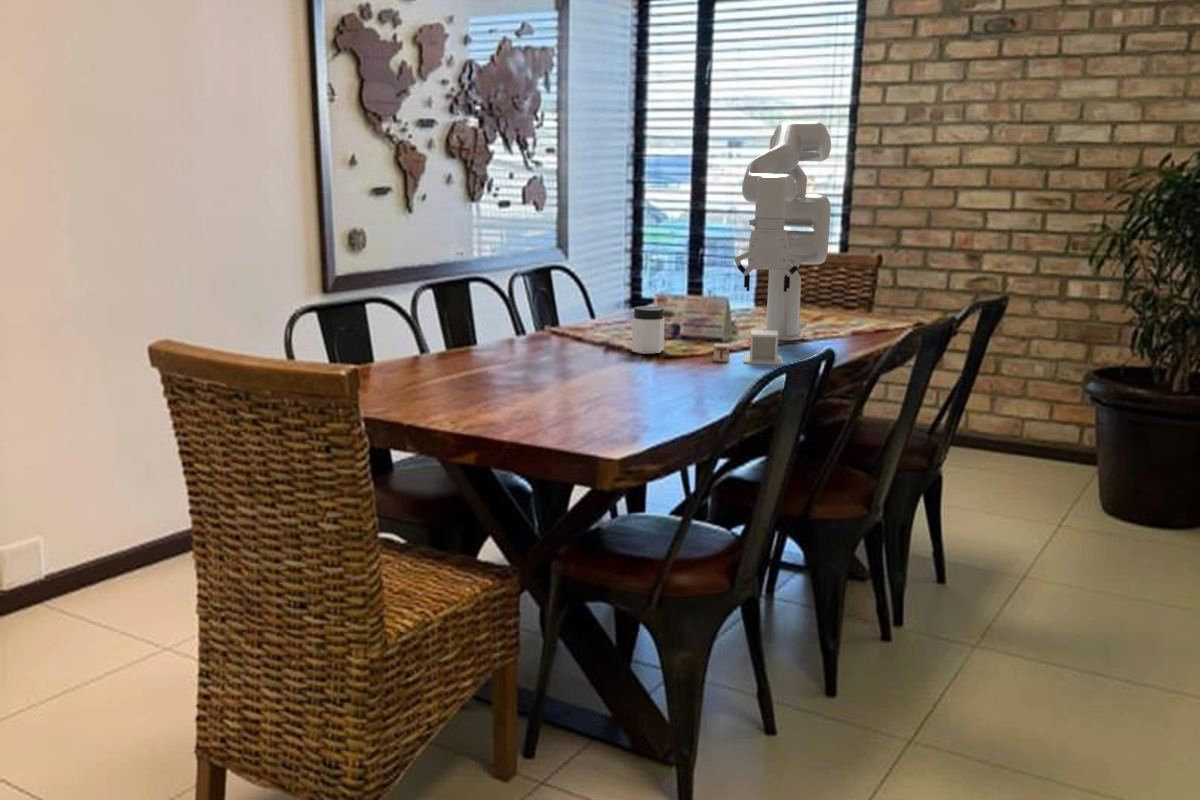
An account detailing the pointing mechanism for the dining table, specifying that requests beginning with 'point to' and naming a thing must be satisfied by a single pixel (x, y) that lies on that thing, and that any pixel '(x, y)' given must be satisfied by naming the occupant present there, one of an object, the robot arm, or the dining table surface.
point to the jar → (648, 330)
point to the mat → (762, 360)
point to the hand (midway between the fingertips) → (766, 290)
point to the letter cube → (721, 352)
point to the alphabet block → (764, 344)
